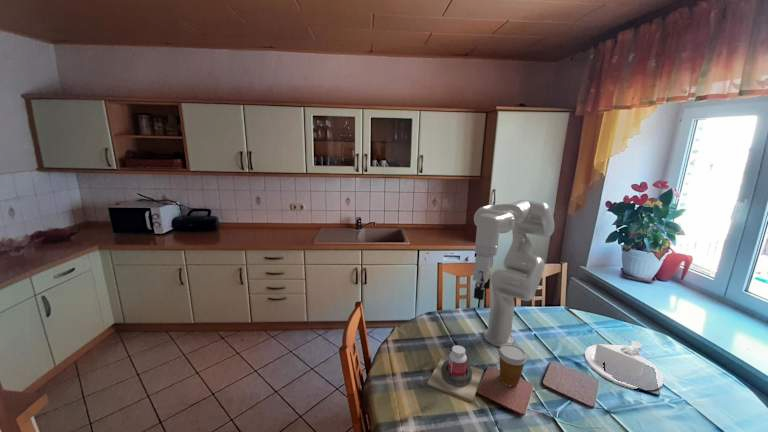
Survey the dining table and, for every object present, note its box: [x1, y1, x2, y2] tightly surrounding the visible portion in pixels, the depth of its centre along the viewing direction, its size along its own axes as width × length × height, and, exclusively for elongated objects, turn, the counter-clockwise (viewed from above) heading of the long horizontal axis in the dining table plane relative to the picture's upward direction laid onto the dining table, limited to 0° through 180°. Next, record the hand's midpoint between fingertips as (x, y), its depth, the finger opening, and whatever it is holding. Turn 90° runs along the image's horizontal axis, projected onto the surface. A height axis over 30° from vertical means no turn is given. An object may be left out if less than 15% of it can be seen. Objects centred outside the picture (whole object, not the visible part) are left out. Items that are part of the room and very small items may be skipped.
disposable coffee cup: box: [497, 344, 528, 387], centre depth 116 cm, size 10×10×12 cm
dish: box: [584, 340, 665, 390], centre depth 124 cm, size 25×25×11 cm
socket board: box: [427, 356, 484, 403], centre depth 117 cm, size 16×16×4 cm
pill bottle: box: [448, 345, 468, 377], centre depth 116 cm, size 6×6×11 cm
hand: (481, 293), depth 117 cm, fingers open, 9 cm apart
